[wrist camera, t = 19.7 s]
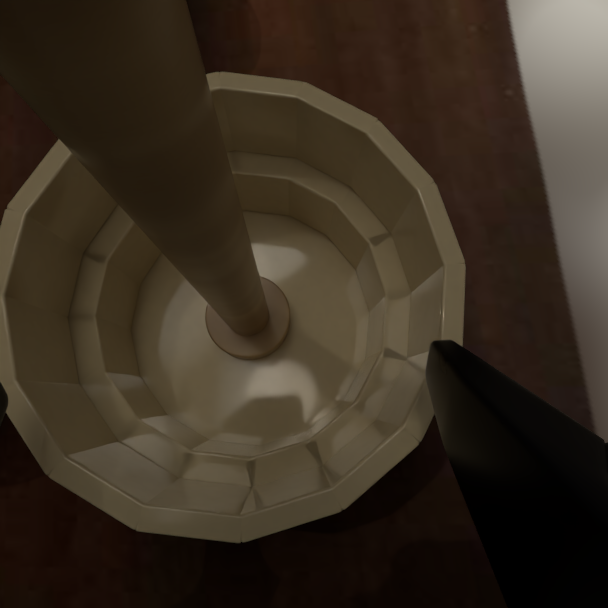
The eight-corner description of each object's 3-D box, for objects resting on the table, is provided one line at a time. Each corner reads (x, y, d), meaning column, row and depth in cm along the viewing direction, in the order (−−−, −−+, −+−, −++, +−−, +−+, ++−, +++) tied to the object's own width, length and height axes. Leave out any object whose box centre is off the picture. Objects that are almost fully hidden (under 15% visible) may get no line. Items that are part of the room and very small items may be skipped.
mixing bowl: (458, 348, 18) (562, 319, 11) (220, 550, 16) (167, 666, 9) (279, 139, 20) (273, 2, 13) (46, 299, 18) (-107, 239, 11)
